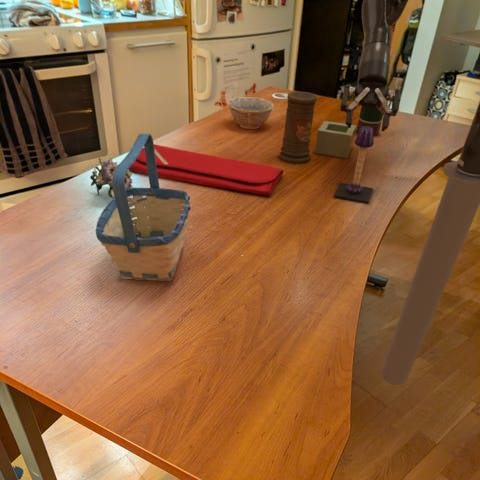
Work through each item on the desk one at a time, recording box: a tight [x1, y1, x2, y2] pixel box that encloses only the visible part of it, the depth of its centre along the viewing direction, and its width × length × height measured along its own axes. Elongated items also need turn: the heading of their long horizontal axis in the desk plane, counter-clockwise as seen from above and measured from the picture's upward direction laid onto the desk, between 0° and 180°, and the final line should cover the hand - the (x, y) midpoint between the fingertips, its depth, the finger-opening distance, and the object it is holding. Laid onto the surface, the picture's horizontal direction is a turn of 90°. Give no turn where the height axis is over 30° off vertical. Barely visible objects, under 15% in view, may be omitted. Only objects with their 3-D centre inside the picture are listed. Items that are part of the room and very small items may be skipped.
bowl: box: [227, 96, 275, 130], centre depth 160 cm, size 16×16×8 cm
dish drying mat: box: [128, 143, 284, 197], centre depth 128 cm, size 16×41×4 cm, turn 72°
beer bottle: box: [356, 96, 388, 137], centre depth 155 cm, size 8×8×24 cm
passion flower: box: [89, 157, 134, 199], centre depth 114 cm, size 11×11×12 cm
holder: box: [314, 120, 357, 159], centre depth 146 cm, size 10×10×7 cm
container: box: [279, 91, 318, 164], centre depth 136 cm, size 9×9×18 cm
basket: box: [95, 133, 192, 282], centre depth 86 cm, size 21×16×24 cm
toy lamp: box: [346, 126, 375, 194], centre depth 118 cm, size 5×5×17 cm
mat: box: [333, 182, 374, 205], centre depth 124 cm, size 9×9×1 cm
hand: (366, 128), depth 116 cm, fingers open, 8 cm apart
